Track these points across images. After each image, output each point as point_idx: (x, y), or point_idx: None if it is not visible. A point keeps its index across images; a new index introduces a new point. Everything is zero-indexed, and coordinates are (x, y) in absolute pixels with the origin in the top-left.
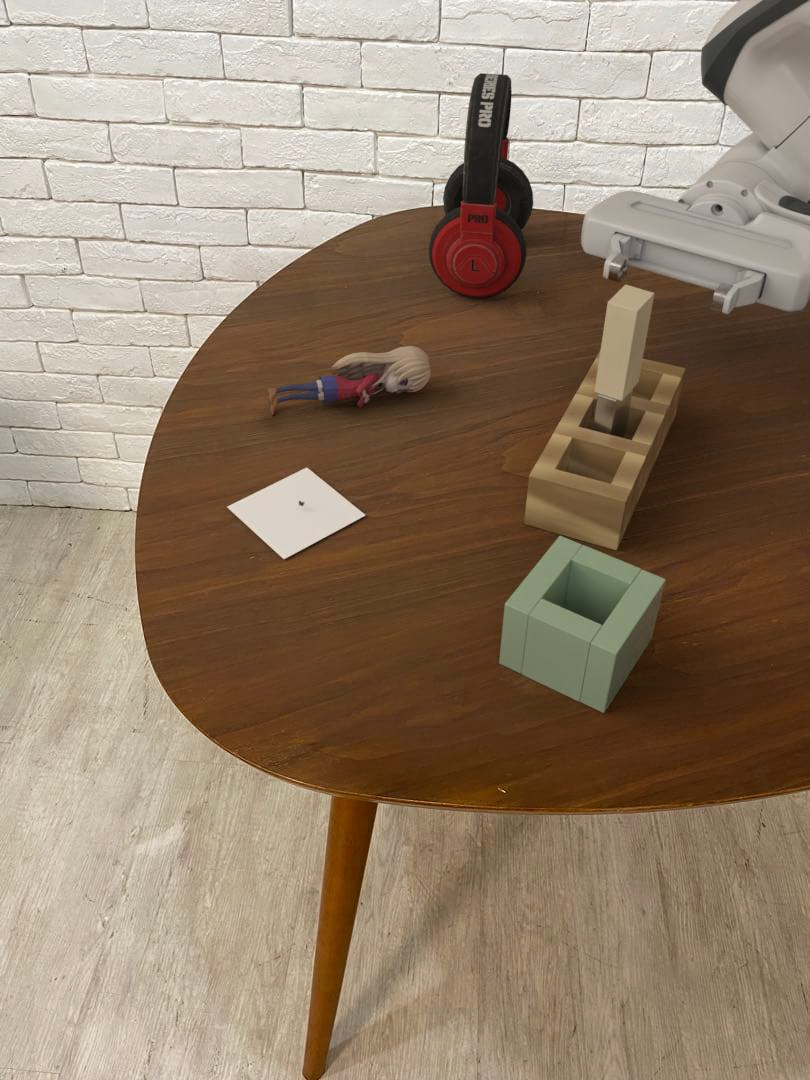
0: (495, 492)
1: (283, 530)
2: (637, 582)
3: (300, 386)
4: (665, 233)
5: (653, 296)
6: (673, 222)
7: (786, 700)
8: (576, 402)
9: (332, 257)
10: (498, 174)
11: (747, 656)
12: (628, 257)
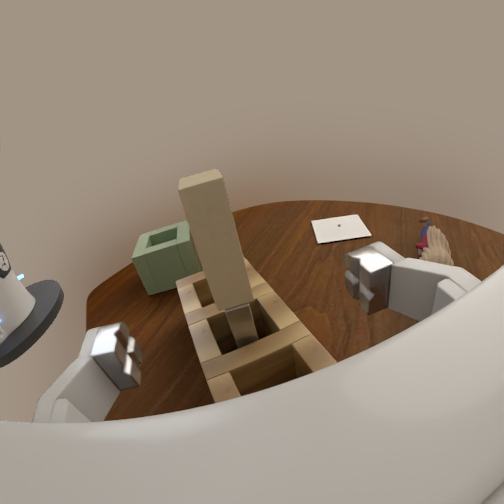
0: (290, 293)
1: (329, 223)
2: (142, 250)
3: (426, 225)
4: (407, 352)
5: (179, 193)
6: (490, 438)
7: (91, 311)
8: (286, 313)
9: None
10: None
11: (107, 316)
12: (366, 269)
